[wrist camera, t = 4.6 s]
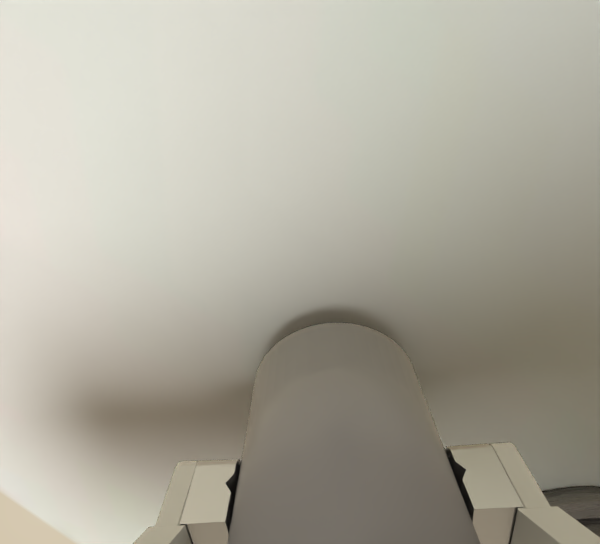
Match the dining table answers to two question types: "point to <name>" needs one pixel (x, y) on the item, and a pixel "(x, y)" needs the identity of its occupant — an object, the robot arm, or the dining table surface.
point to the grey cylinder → (344, 448)
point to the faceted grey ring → (578, 504)
